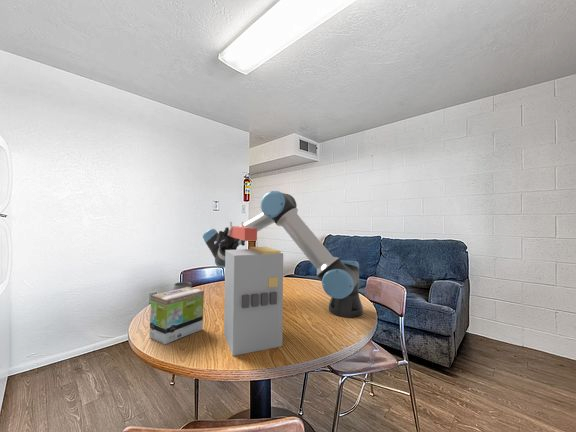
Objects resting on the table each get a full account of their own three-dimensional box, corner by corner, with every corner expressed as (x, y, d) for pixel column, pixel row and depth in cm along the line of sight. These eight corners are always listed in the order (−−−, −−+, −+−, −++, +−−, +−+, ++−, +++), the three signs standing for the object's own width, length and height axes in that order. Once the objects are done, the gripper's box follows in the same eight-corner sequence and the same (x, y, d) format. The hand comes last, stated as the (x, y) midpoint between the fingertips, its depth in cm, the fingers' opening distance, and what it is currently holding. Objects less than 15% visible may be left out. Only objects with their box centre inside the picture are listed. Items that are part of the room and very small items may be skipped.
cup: (195, 305, 122) (195, 284, 122) (173, 309, 117) (174, 287, 117) (190, 300, 130) (190, 280, 130) (170, 303, 124) (170, 282, 125)
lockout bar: (228, 235, 106) (228, 226, 106) (237, 235, 108) (237, 226, 108) (244, 240, 81) (244, 228, 81) (256, 240, 82) (257, 228, 82)
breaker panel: (224, 334, 91) (225, 250, 92) (266, 327, 98) (267, 248, 98) (233, 357, 76) (235, 256, 76) (283, 347, 82) (284, 253, 83)
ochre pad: (249, 249, 96) (249, 247, 96) (265, 248, 98) (265, 246, 98) (262, 254, 81) (262, 251, 81) (280, 253, 83) (280, 251, 83)
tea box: (166, 345, 83) (167, 299, 83) (148, 338, 88) (149, 294, 88) (203, 329, 95) (204, 289, 96) (186, 323, 101) (187, 285, 101)
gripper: (246, 256, 120) (259, 233, 102) (208, 257, 113) (215, 233, 95) (244, 241, 124) (256, 217, 105) (207, 242, 117) (214, 216, 98)
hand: (237, 224), depth 100 cm, fingers closed on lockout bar, 4 cm apart
